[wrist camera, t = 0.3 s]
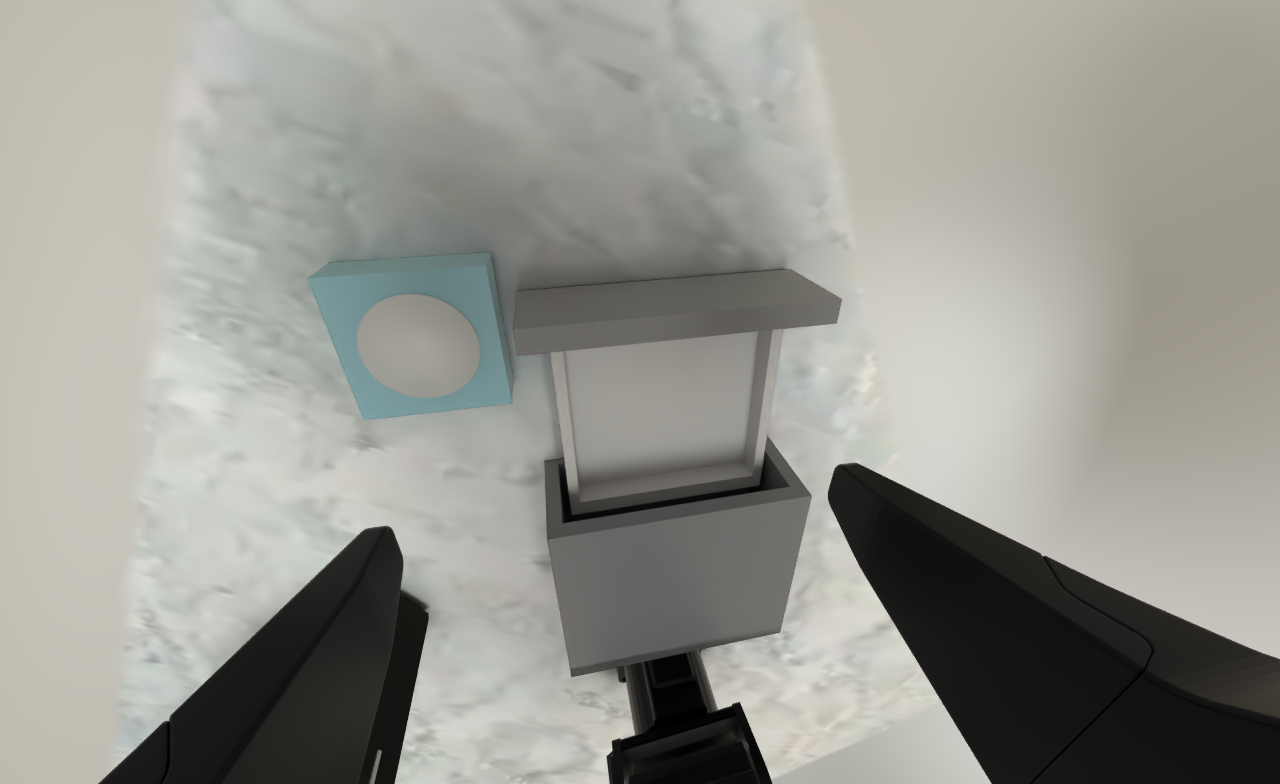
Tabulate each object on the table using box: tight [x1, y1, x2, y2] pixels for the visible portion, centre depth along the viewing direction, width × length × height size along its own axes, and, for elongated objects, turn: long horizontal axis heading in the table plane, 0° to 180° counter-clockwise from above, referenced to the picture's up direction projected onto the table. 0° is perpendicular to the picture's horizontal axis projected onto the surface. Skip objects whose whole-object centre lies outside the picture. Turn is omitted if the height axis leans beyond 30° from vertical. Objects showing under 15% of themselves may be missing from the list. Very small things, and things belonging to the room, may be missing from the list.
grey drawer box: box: [544, 436, 812, 677], centre depth 26 cm, size 11×12×5 cm
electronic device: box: [358, 596, 429, 784], centre depth 24 cm, size 4×10×10 cm, turn 120°
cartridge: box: [308, 252, 514, 420], centre depth 19 cm, size 6×6×2 cm
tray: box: [513, 269, 842, 515], centre depth 21 cm, size 11×12×4 cm
